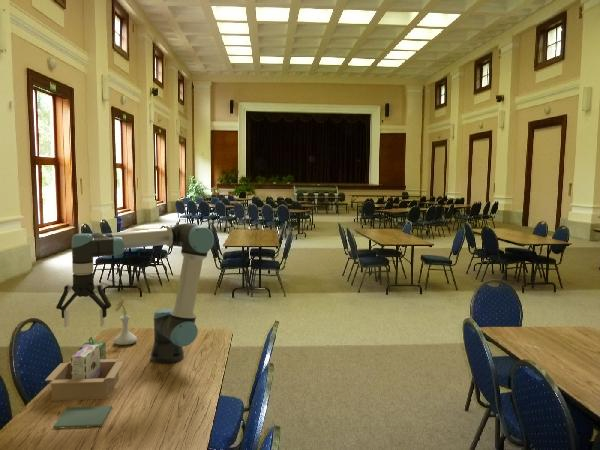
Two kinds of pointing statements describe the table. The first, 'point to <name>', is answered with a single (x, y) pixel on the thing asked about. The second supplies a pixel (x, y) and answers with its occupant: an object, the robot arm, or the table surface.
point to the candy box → (86, 363)
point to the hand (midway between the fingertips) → (84, 325)
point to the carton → (84, 382)
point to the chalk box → (101, 344)
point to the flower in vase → (124, 328)
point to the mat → (83, 416)
